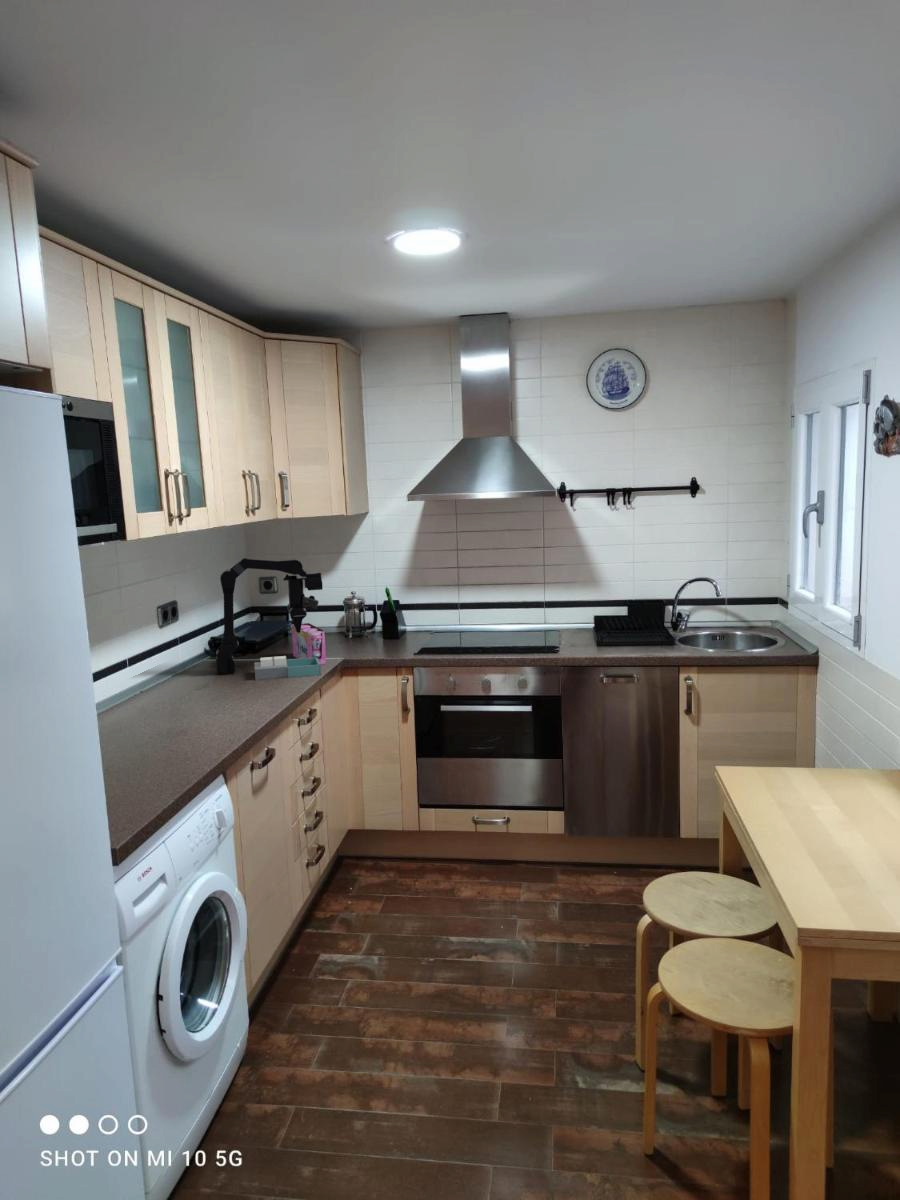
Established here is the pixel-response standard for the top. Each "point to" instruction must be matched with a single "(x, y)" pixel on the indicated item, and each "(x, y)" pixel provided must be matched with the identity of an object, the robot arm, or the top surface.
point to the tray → (303, 667)
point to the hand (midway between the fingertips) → (297, 630)
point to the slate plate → (270, 671)
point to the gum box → (309, 642)
